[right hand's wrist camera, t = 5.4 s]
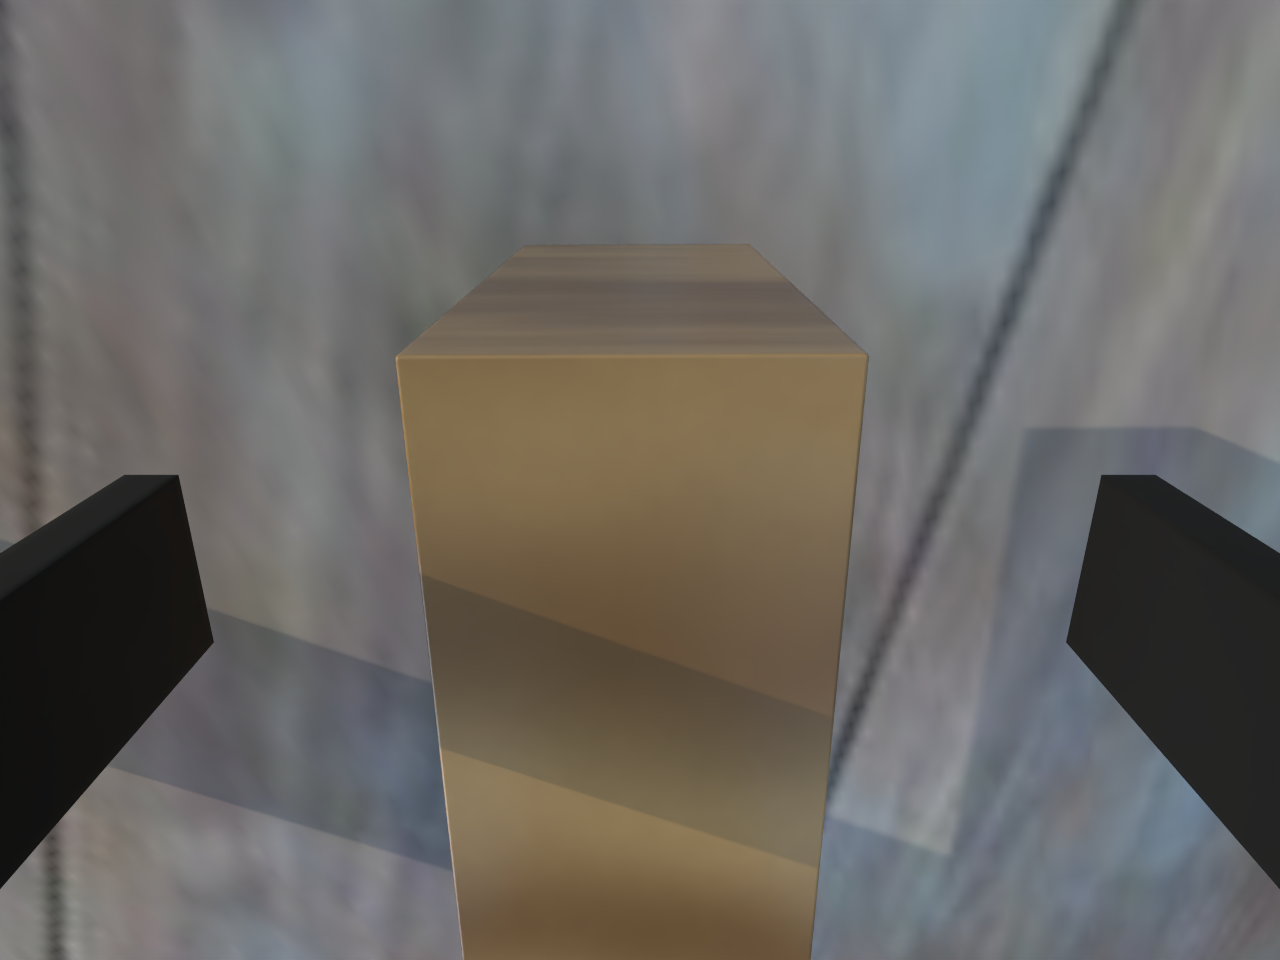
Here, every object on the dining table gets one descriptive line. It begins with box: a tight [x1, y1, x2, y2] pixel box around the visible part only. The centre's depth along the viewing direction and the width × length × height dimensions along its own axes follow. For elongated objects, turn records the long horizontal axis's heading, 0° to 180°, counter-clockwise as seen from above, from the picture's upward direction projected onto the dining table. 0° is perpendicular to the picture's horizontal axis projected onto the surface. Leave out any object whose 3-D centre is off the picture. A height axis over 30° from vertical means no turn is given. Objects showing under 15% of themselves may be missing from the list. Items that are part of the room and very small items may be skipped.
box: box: [395, 244, 869, 960], centre depth 20 cm, size 20×6×13 cm, turn 0°
